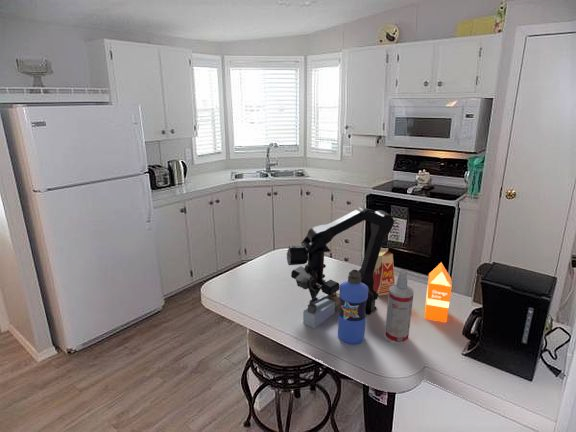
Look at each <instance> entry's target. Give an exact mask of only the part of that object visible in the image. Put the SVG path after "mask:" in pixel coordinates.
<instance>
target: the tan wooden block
mask: <svg viewBox="0 0 576 432" xmlns="http://www.w3.org/2000/svg"><path fill="white" fill-rule="evenodd" d="M327 299H330V300H332V301H335V313H337V312H339V311H340V306H341V305H340V296H339V293H337V292H336V296H331V297H329V298H327ZM335 313H334V314H335Z"/></svg>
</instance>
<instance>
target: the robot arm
mask: <svg viewBox="0 0 576 432" xmlns="http://www.w3.org/2000/svg"><path fill="white" fill-rule="evenodd" d="M364 221H365V222H369V223H370V232H371V235H370V238H369V241H368V244H367V247H366V251H365V254H364V257H363V260H362V263H361V265H360V266H361V267H360V268H359V270H358V271H359V272H360V273H361V275H360V276H361V282H362V283H364V284H365V285H367V286H368V299H367V302H366V306H365V313H366V316H367V315H369V316H370V315H371V314H372V313H373V312H375V310H377V309H378V308H377V306H376V300H378V298H379V294H378V293H377V292H376V291H375V290H374V289H373V286H374V277H373V272H374V269H375V266H376V262H377V259H378V256H379V253H380V250H381V248H383V247H382V246H383V244H384V243H383V242H384V239H385V238H386V237H387V236H388V234H390V233H391V231H392V228H393V226H394V224H395V219H394V217H393V216H392V215H391V214H389V213H387V212H386V211H384V210H381V209H380V210H379V209H378V210H374V209H371V208H370V209H369V208H366V207H364V206H359V207H357V208H356V209H355V210H352V211H351V212H349V213H347V214H345V215H343V216H342V217H339V218H337V219H335V220H334V221H331V222H330V223H326V224H319V225H316V226H312V228H309V230H308V231H307V234H306V236H305V237H304V239H303V240H302V241H301V245H289V246H288V249H287V250H286V251H287V252H286V261H287V265H288V266H299V265H300V266H299V267H297V268H294V269H293V270H292V271H291V273H290V277H291V278H292V279H294V280H295V282H296V286H297V287H299V288H301V289H303V290H308V292H309V295H310V297H311V300H312V299H314V298H316V297H318V296H319V293H320V291H321V292H322V293H323V294H327V295H332V294H333V293H335V292H336V293H337V292H338V291H340V283H339V282H337V281H335V280H333V279H329V280H327V281H326V279H325V278H326V274H324V269H325V268H326V267H327V266H326V264H325V253H330V252H331V249H330V248H329V246H327V245H328V244H329V243H330V242H331V241H332V240H333V239H334V238H335V237H336V236H337V235H339V234H341V233H342V232H345V231H346V230H349V229H350V228H353V227H354V226H356V225H359V224H360V223H361V222H364ZM310 243H311V244H310ZM301 265H305V266H304V267H303V266H301Z"/></svg>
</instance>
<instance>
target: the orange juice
mask: <svg viewBox="0 0 576 432" xmlns="http://www.w3.org/2000/svg"><path fill="white" fill-rule="evenodd" d="M427 281H428V282H427V286H426V287H427V288H426V297H425V304H424V305H425V306H424V319H425V320H430V321H436V322H441V323H447V321H448V314H449V308H450V303H451V302H450V301H451V294H452V289H453V288H452V278H451V276H450V274H449V273H448V271H447V269H446V268H445V266H444V264H443V263H442V261H441V262H440V263H438V265H436V267H435V268H433V270H431V271H430V272H429V273H428V280H427Z"/></svg>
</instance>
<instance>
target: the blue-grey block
mask: <svg viewBox="0 0 576 432" xmlns="http://www.w3.org/2000/svg"><path fill="white" fill-rule="evenodd" d="M302 313H303V314H302V316H303V317H302V319H303V321H302V324H305V325H306V326H309V327H311V328H313V329H315V328H317V327H318V326H319V325H321V324H322V323H324V322H325V321H326V320H327V319H328V318H330V317H331V316H333V315H334V314H335V301H332V300H330V299H325V300H322V301H320V302H318V303H316V304H313V303H310V304H309V303H308V304H307V308H305V310H303V312H302Z"/></svg>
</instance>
